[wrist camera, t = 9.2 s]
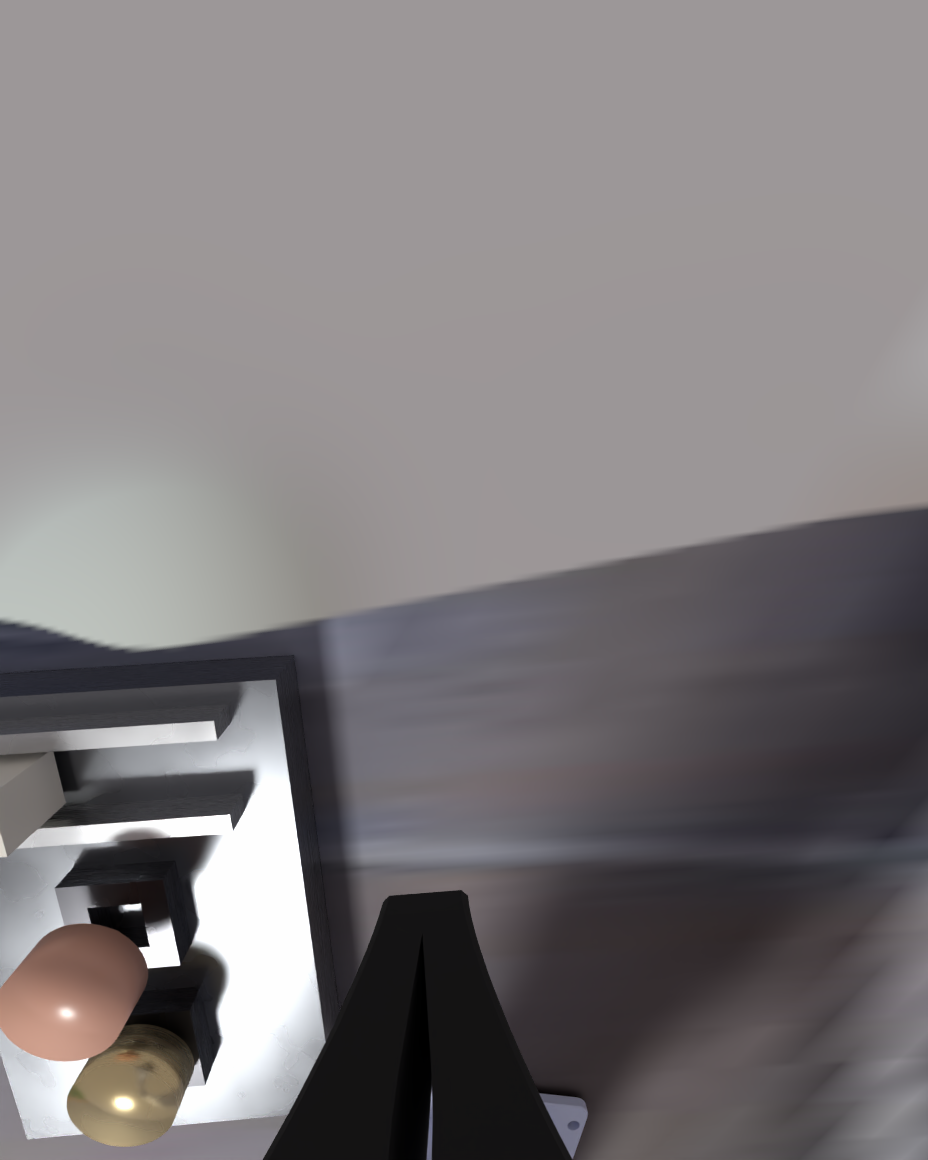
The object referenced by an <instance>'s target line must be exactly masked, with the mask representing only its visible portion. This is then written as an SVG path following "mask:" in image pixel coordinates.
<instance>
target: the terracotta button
mask: <svg viewBox="0 0 928 1160" xmlns="http://www.w3.org/2000/svg"><path fill="white" fill-rule="evenodd" d="M147 980H148V968H147V963H146V960H145V958H144V956H143V954H142V952H141V951H140V949H139V948H138V947H137V946H136V945H135V943H133V942H132V941H131V940H130V939H129V938H127V937H126V936H125V935H123V934H122V933H120V932H119V931H117V930H115V929H111V928H108V927H105V926H101V925H96V924H87V923H81V924H71V925H66V926H63V927H60V928H57V929H55V930H53V931H51V932H50V933H48V934H47V935H45V936H44V937H43V938H42V939H41V940H40V941H39V942H38V943H37V944H36V946H35V947H34V948H33V949H32V950H31V952H30V953H29V954H28V955H27V956H26V958H25V959H24V960H23V961H22V962H21V964H20V965H19V966H18V967H17V968H16V970H15V971H14V972H13V973H12V974H11V976H10V977H9V978H8V979H7V980H6V982H5V983H4V984H3V986H2V987H1V988H0V1028H1V1030H2V1031H3V1033H4V1034H5V1035H6V1037H7V1038H8V1039H9V1040H10V1041H11V1042H12V1043H14V1044H15V1045H16V1046H17V1047H19V1048H20V1049H22V1050H24V1051H25V1052H27V1053H30V1054H32V1055H34V1056H37V1057H40V1058H43V1059H47V1060H53V1061H63V1062H67V1061H78V1060H83V1059H88V1058H90V1057H93V1056H96V1055H98V1054H100V1053H102V1052H103V1051H105V1050H106V1049H108V1048H109V1047H110V1046H111V1045H112V1044H113V1043H114V1042H115V1040H116V1039H117V1038H118V1036H119V1034H120V1032H121V1031H122V1029H123V1027H124V1025H125V1023H126V1022H127V1020H128V1018H129V1016H130V1014H131V1013H132V1011H133V1009H134V1007H135V1005H136V1004H137V1002H138V1000H139V998H140V996H141V995H142V993H143V991H144V989H145V987H146V984H147Z"/></svg>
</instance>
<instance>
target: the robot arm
mask: <svg viewBox="0 0 928 1160" xmlns="http://www.w3.org/2000/svg"><path fill="white" fill-rule="evenodd" d="M587 1117H588V1111H587V1107H586V1103H585V1101H584V1100H582V1099H581V1098H578V1097H570V1096H561V1095H552V1094H543V1093H539V1092H538V1090H537V1088H536V1086H535V1083H534V1081H533V1079H532V1077H531V1075H530V1073H529V1070H528V1068H527V1066H526V1064H525V1062H524V1060H523V1057H522V1055H521V1053H520V1051H519V1049H518V1046H517V1044H516V1042H515V1039H514V1037H513V1035H512V1032H511V1030H510V1028H509V1025H508V1023H507V1020H506V1018H505V1015H504V1013H503V1010H502V1008H501V1005H500V1003H499V1000H498V998H497V995H496V992H495V990H494V987H493V985H492V982H491V979H490V977H489V974H488V971H487V968H486V965H485V962H484V959H483V956H482V953H481V950H480V947H479V944H478V940H477V937H476V933H475V930H474V926H473V922H472V918H471V913H470V908H469V901H468V895H466V894H465V893H464V892H463V891H462V890H458V891H445V892H432V893H420V894H407V895H394V896H389V897H388V898H387V899H386V900H385V901H384V902H383V905H382V908H381V911H380V915H379V918H378V921H377V923H376V926H375V929H374V932H373V935H372V937H371V940H370V943H369V945H368V948H367V950H366V953H365V955H364V958H363V960H362V963H361V965H360V967H359V970H358V972H357V975H356V977H355V979H354V982H353V984H352V986H351V988H350V990H349V993H348V995H347V997H346V999H345V1001H344V1004H343V1006H342V1008H341V1010H340V1012H339V1015H338V1017H337V1019H336V1021H335V1023H334V1026H333V1028H332V1030H331V1032H330V1034H329V1036H328V1038H327V1040H326V1042H325V1044H324V1046H323V1048H322V1050H321V1052H320V1054H319V1056H318V1058H317V1060H316V1062H315V1064H314V1066H313V1068H312V1069H311V1071H310V1073H309V1075H308V1077H307V1079H306V1081H305V1083H304V1085H303V1087H302V1089H301V1091H300V1093H299V1095H298V1097H297V1099H296V1101H295V1103H294V1104H293V1106H292V1108H291V1110H290V1112H289V1114H288V1116H287V1117H286V1119H285V1121H284V1123H283V1125H282V1126H281V1128H280V1130H279V1132H278V1134H277V1135H276V1137H275V1139H274V1141H273V1143H272V1144H271V1146H270V1148H269V1150H268V1151H267V1153H266V1155H265V1157H264V1158H263V1160H573V1157H574V1154H575V1151H576V1149H577V1146H578V1143H579V1140H580V1137H581V1134H582V1131H583V1128H584V1126H585V1123H586V1120H587Z"/></svg>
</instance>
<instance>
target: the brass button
mask: <svg viewBox="0 0 928 1160" xmlns="http://www.w3.org/2000/svg"><path fill="white" fill-rule="evenodd" d="M193 1071H194V1058H193V1055H192V1052H191V1050H190V1048H189V1047H188V1045H187V1044H186V1043H185V1042H184V1041H183V1040H182V1039H181V1038H180V1037H179V1036H177V1035H176V1034H174V1033H173V1032H171V1031H169V1030H167V1029H164V1028H161V1027H158V1026H154V1025H148V1024H133V1025H127V1026H124V1027H123V1029H122V1031H121V1032H120V1034H119V1036H118V1038H117V1039H116V1040H115V1042H114V1043H113V1044H112V1045H111V1046H110V1047H109V1048H108V1049H106V1050H105V1051H103V1052H102V1053H100V1054H98V1055H96V1056H93V1057H90V1058H89V1059H88V1060H87V1062H86V1064H85V1065H84V1067H83V1069H82V1071H81V1072H80V1074H79V1076H78V1077H77V1079H76V1081H75V1083H74V1084H73V1086H72V1088H71V1089H70V1091H69V1094H68V1096H67V1112H68V1115H69V1117H70V1119H71V1121H72V1123H73V1124H74V1125H75V1126H76V1128H78V1129H79V1130H80V1131H81V1132H82V1133H83V1134H85V1135H86V1136H88V1137H89V1138H91V1139H93V1140H95V1141H97V1142H100V1143H103V1144H107V1145H112V1146H121V1147H129V1146H138V1145H142V1144H146V1143H149V1142H151V1141H153V1140H156V1139H157V1138H159V1137H160V1136H162V1135H163V1134H164V1133H165V1132H167V1130H168V1129H169V1128H170V1127H171V1125H172V1124H173V1122H174V1119H175V1117H176V1114H177V1112H178V1109H179V1107H180V1104H181V1102H182V1100H183V1097H184V1095H185V1092H186V1090H187V1087H188V1085H189V1082H190V1080H191V1077H192V1075H193Z"/></svg>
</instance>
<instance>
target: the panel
mask: <svg viewBox="0 0 928 1160" xmlns="http://www.w3.org/2000/svg"><path fill="white" fill-rule="evenodd" d="M38 752H54V756H55V760H56V765H57V769H58V773H59V777H60V781H61V785H62V789H63V793H64V797H65V801H66V804H65V805H63V806H62V807H61V808H60V809H59V810H58V811H57V812H56V813H55V814H54V815H52V816H51V817H50V818H49V819H48V820H47V821H46V822H45V823H44V824H43V825H42V826H40V827H39V828H38V829H37V830H36V831H35V832H34V833H33V834H32V835H31V836H30V837H28V838H27V839H26V840H25V841H24V842H23V843H22V844H21V845H20V846H19V847H18V848H16V849H15V850H14V851H13V852H12V853H11V854H10V855H9V856H8V857H0V988H1V987H2V986H3V984H4V983H5V982H6V980H7V979H8V978H9V977H10V976H11V974H12V973H13V972H14V971H15V970H16V968H17V967H18V966H19V965H20V964H21V962H22V961H23V960H24V959H25V958H26V956H27V955H28V954H29V953H30V952H31V950H32V949H33V948H34V947H35V946H36V944H37V943H38V942H39V941H40V940H41V939H42V938H43V937H44V936H45V935H47V934H48V933H50V932H51V931H53V930H55V929H57V928H60V927H63V926H66V925H71V924H81V923H87V924H96V925H101V926H105V927H108V928H111V929H115V930H117V931H119V932H120V933H122V934H123V935H125V936H126V937H127V938H129V939H130V940H131V941H132V942H133V943H135V945H136V946H137V947H138V948H139V949H140V951H141V952H142V954H143V956H144V958H145V960H146V963H147V968H148V980H147V984H146V987H145V989H144V991H143V993H142V995H141V996H140V998H139V1000H138V1002H137V1004H136V1005H135V1007H134V1009H133V1011H132V1013H131V1014H130V1016H129V1018H128V1020H127V1022H126V1023H125V1025H124V1026H127V1025H133V1024H148V1025H154V1026H158V1027H161V1028H164V1029H167V1030H169V1031H171V1032H173V1033H174V1034H176V1035H177V1036H179V1037H180V1038H181V1039H182V1040H183V1041H184V1042H185V1043H186V1044H187V1045H188V1047H189V1048H190V1050H191V1052H192V1055H193V1058H194V1071H193V1075H192V1077H191V1080H190V1082H189V1085H188V1087H187V1090H186V1092H185V1095H184V1097H183V1100H182V1102H181V1104H180V1107H179V1109H178V1112H177V1114H176V1117H175V1119H174V1122H173V1124H172V1125H171V1126H175V1125H186V1124H196V1123H207V1122H218V1121H228V1120H239V1119H250V1118H261V1117H271V1116H282V1115H288V1114H289V1112H290V1110H291V1108H292V1106H293V1104H294V1103H295V1101H296V1099H297V1097H298V1095H299V1093H300V1091H301V1089H302V1087H303V1085H304V1083H305V1081H306V1079H307V1077H308V1075H309V1073H310V1071H311V1069H312V1068H313V1066H314V1064H315V1062H316V1060H317V1058H318V1056H319V1054H320V1052H321V1050H322V1048H323V1046H324V1044H325V1042H326V1040H327V1038H328V1036H329V1034H330V1032H331V1030H332V1028H333V1026H334V1023H335V1021H336V1019H337V1017H338V1015H339V1005H338V997H337V990H336V982H335V974H334V966H333V958H332V951H331V943H330V935H329V927H328V919H327V911H326V904H325V896H324V888H323V880H322V872H321V864H320V857H319V849H318V841H317V833H316V825H315V817H314V810H313V802H312V794H311V786H310V778H309V771H308V763H307V755H306V747H305V739H304V731H303V724H302V716H301V708H300V700H299V692H298V684H297V677H296V669H295V661H294V655H292V656H276V657H260V658H244V659H228V660H212V661H196V662H180V663H164V664H148V665H132V666H116V667H100V668H84V669H68V670H52V671H36V672H20V673H4V674H0V755H9V754H24V753H38ZM0 1054H1V1057H2V1060H3V1063H4V1066H5V1069H6V1073H7V1076H8V1079H9V1082H10V1085H11V1088H12V1092H13V1095H14V1098H15V1101H16V1104H17V1107H18V1111H19V1114H20V1117H21V1120H22V1123H23V1127H24V1130H25V1133H26V1136H27V1139H35V1138H46V1137H57V1136H68V1135H78V1134H83V1133H82V1132H81V1131H80V1130H79V1129H78V1128H76V1126H75V1125H74V1124H73V1123H72V1121H71V1119H70V1117H69V1115H68V1112H67V1096H68V1094H69V1091H70V1089H71V1088H72V1086H73V1084H74V1083H75V1081H76V1079H77V1077H78V1076H79V1074H80V1072H81V1071H82V1069H83V1067H84V1065H85V1064H86V1062H87V1060H88V1059H89V1058H88V1059H83V1060H78V1061H67V1062H63V1061H53V1060H47V1059H43V1058H40V1057H37V1056H34V1055H32V1054H30V1053H27V1052H25V1051H24V1050H22V1049H20V1048H19V1047H17V1046H16V1045H15V1044H14V1043H12V1042H11V1041H10V1040H9V1039H8V1038H7V1037H6V1035H5V1034H4V1033H3V1031H2V1030H1V1028H0Z"/></svg>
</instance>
